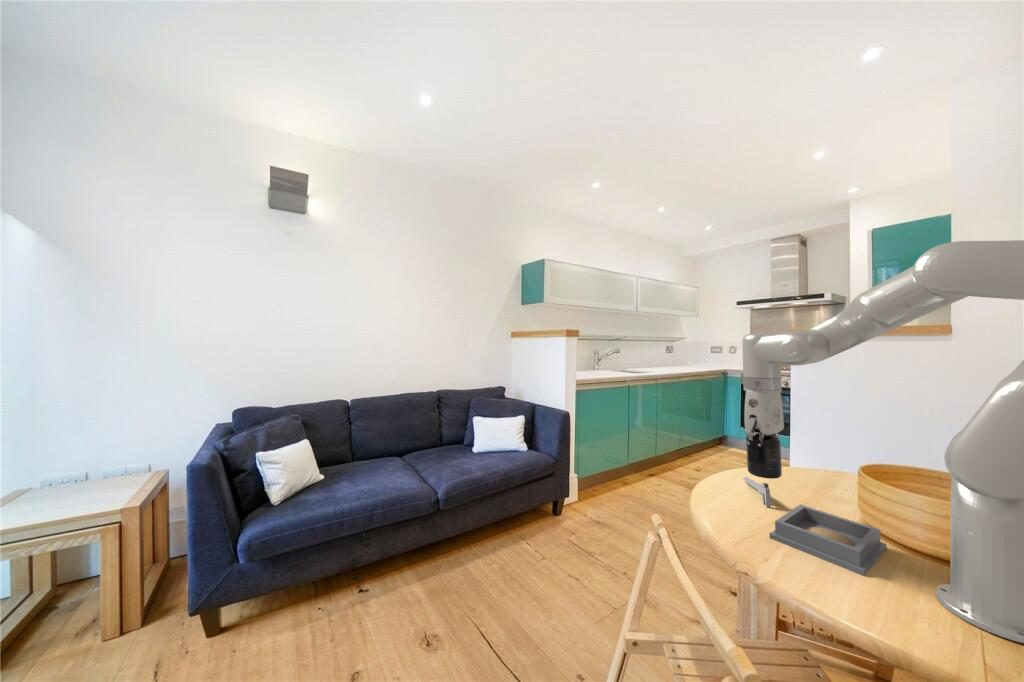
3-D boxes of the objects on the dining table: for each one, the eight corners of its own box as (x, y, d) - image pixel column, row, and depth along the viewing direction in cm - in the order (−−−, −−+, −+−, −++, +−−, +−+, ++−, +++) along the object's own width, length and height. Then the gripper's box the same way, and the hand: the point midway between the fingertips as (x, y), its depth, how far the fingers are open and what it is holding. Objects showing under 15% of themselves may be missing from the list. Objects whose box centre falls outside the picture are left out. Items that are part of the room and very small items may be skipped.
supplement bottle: (780, 471, 88) (779, 422, 88) (783, 481, 82) (782, 428, 82) (746, 467, 92) (745, 420, 92) (747, 476, 86) (746, 425, 86)
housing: (886, 548, 79) (886, 530, 79) (864, 575, 70) (864, 555, 70) (797, 517, 92) (797, 502, 92) (769, 537, 84) (769, 520, 84)
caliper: (770, 509, 98) (770, 485, 98) (766, 508, 98) (766, 485, 98) (746, 479, 117) (746, 460, 117) (742, 479, 118) (742, 460, 118)
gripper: (763, 389, 79) (765, 471, 79) (795, 382, 89) (797, 455, 89) (727, 386, 85) (729, 462, 85) (760, 380, 95) (762, 448, 95)
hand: (763, 458), depth 87 cm, fingers closed on supplement bottle, 6 cm apart
